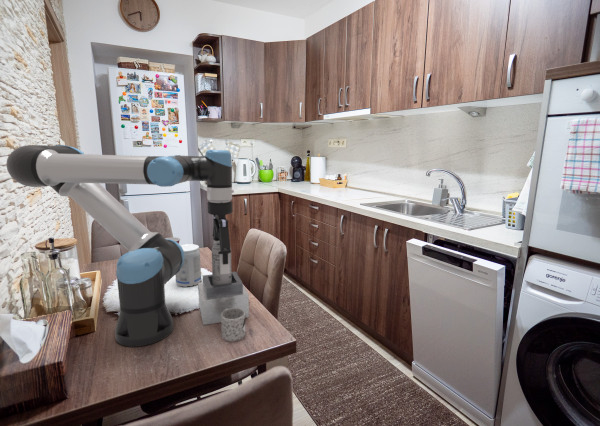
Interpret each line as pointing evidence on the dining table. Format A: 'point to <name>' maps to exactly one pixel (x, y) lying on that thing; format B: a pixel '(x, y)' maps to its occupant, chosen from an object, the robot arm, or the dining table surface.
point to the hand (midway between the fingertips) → (221, 266)
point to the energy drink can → (216, 276)
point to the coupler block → (221, 298)
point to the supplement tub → (190, 266)
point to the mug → (233, 324)
